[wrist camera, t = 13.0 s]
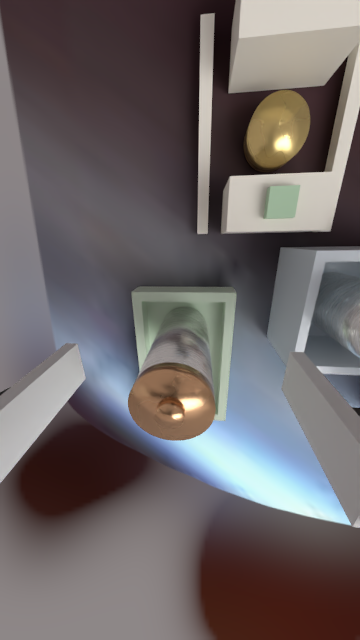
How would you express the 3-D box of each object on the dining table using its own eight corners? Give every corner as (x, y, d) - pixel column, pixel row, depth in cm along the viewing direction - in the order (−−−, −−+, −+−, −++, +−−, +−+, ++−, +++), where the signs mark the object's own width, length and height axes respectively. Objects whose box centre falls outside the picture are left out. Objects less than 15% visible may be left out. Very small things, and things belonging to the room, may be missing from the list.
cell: (160, 306, 19) (118, 378, 9) (208, 306, 18) (218, 382, 9) (163, 348, 20) (129, 448, 11) (207, 349, 20) (214, 453, 10)
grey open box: (280, 247, 17) (316, 250, 11) (390, 245, 16) (482, 248, 11) (266, 337, 20) (290, 372, 14) (357, 339, 19) (417, 377, 14)
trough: (138, 286, 19) (131, 292, 17) (232, 286, 18) (236, 292, 16) (149, 400, 24) (144, 415, 22) (223, 404, 23) (225, 420, 21)
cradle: (200, 31, 13) (200, -75, 8) (371, 12, 12) (469, -119, 7) (197, 234, 17) (196, 232, 13) (322, 231, 16) (367, 229, 12)
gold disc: (246, 108, 13) (251, 92, 12) (303, 104, 13) (316, 87, 12) (241, 173, 15) (245, 166, 13) (292, 171, 14) (303, 163, 13)
